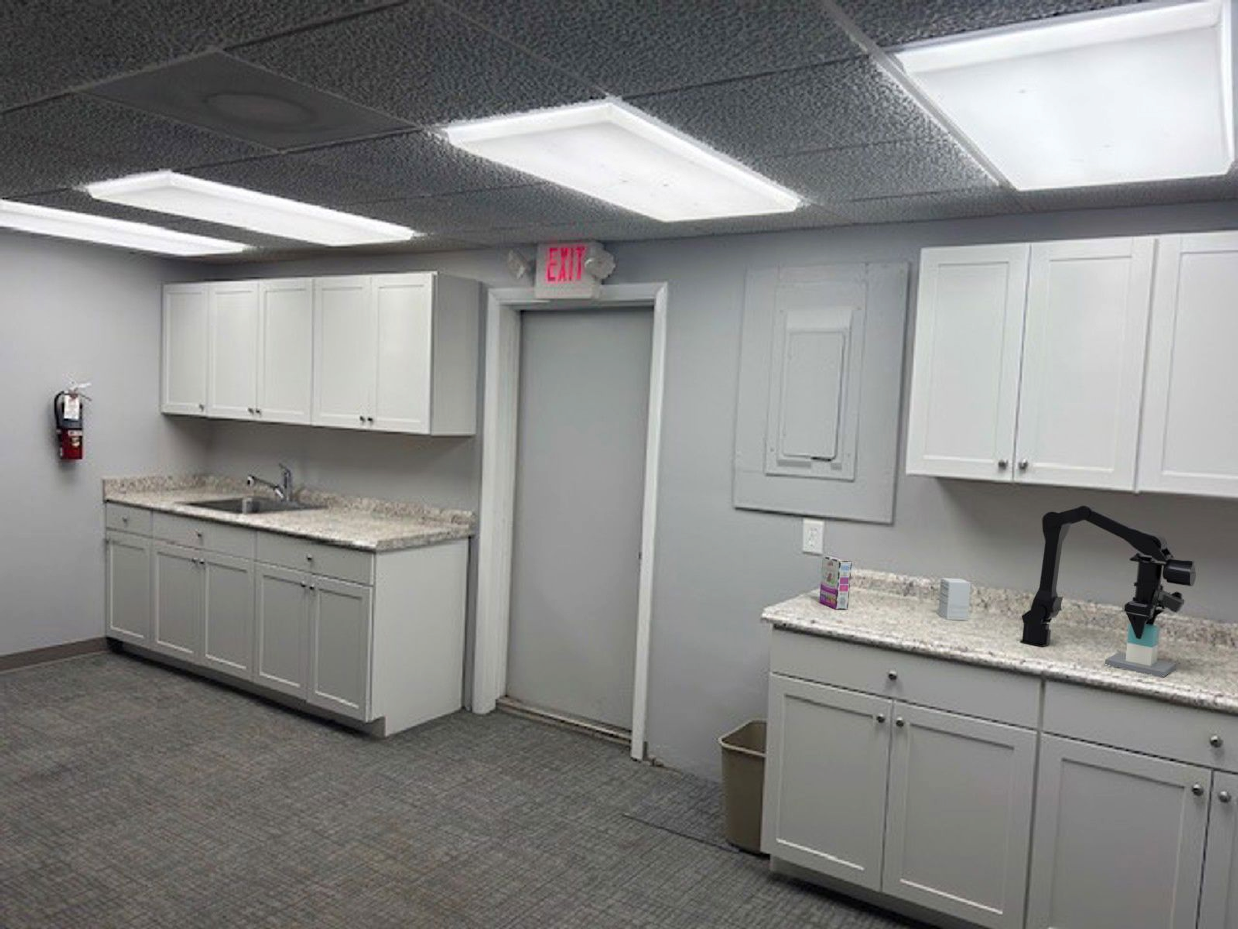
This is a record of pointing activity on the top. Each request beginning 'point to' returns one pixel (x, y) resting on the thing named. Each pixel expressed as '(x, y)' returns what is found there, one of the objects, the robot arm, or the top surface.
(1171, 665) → the baseplate
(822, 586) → the candy bar box
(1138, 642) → the teal brick
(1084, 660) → the top surface
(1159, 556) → the robot arm
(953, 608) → the supplement box
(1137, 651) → the cream brick
